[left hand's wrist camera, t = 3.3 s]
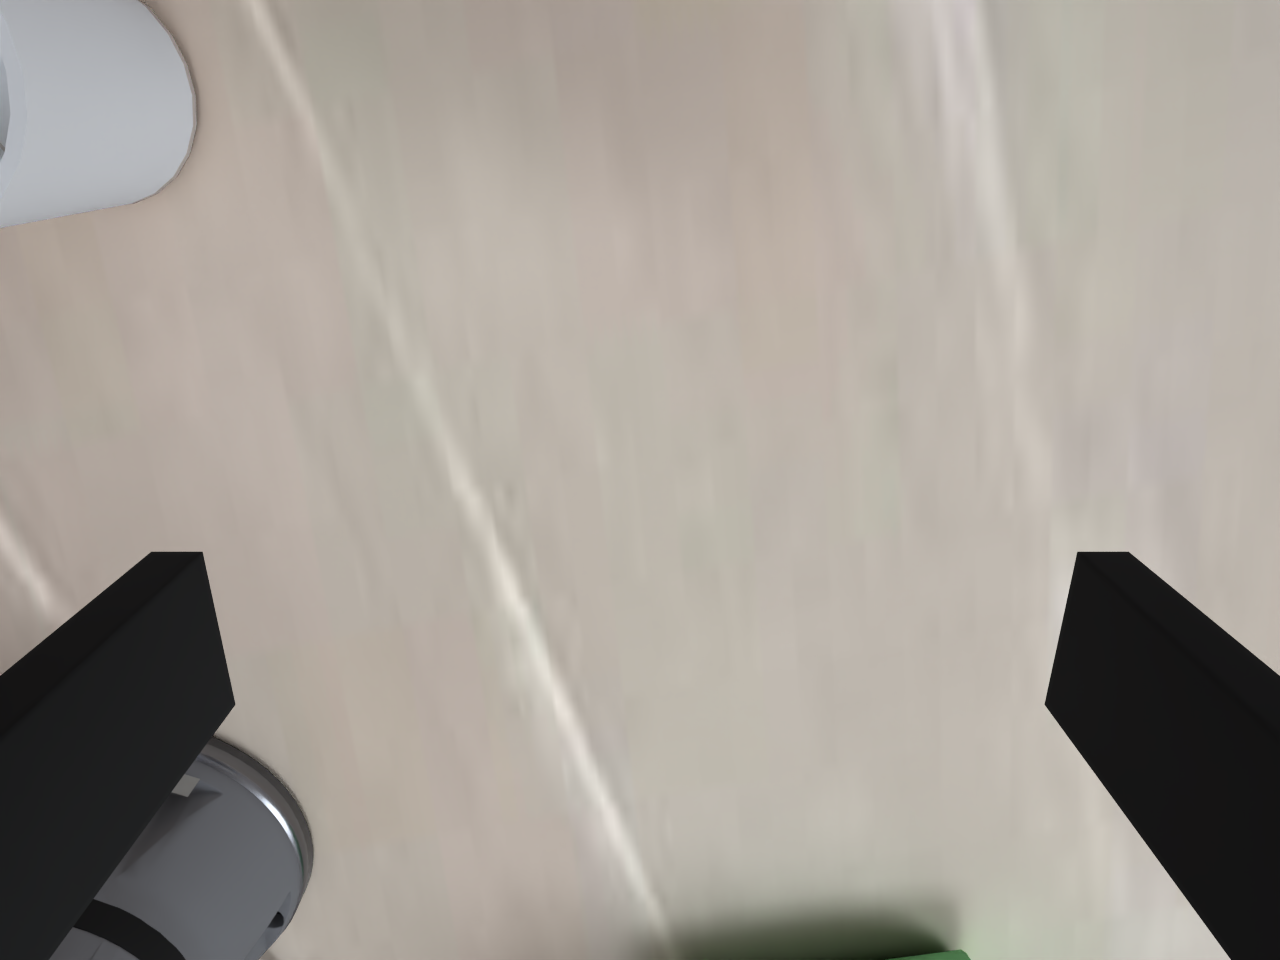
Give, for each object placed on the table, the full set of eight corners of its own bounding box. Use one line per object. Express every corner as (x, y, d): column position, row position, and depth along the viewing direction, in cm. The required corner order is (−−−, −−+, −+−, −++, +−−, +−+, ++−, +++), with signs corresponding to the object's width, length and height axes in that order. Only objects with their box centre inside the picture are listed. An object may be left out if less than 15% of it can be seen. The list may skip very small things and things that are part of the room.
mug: (164, 261, 33) (-26, 303, 24) (-61, 135, 32) (-364, 126, 22) (270, -5, 30) (99, -81, 20) (24, -163, 28) (-289, -325, 19)
